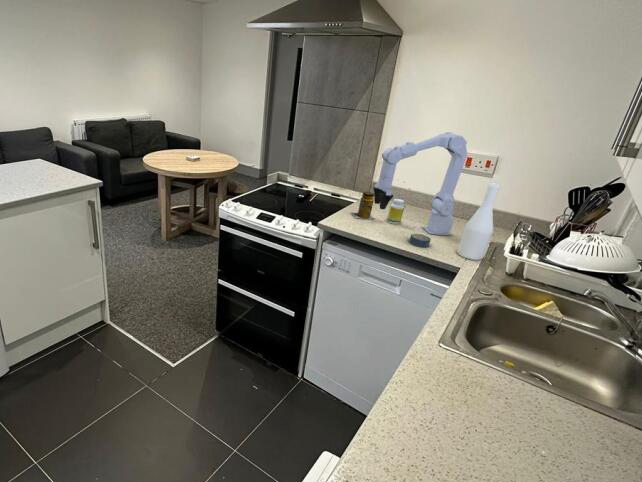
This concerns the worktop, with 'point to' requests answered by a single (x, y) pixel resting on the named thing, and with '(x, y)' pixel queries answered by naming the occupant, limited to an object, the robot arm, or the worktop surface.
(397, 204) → the pill bottle
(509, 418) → the worktop surface
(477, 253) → the wine bottle
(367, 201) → the condiment
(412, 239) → the tin
